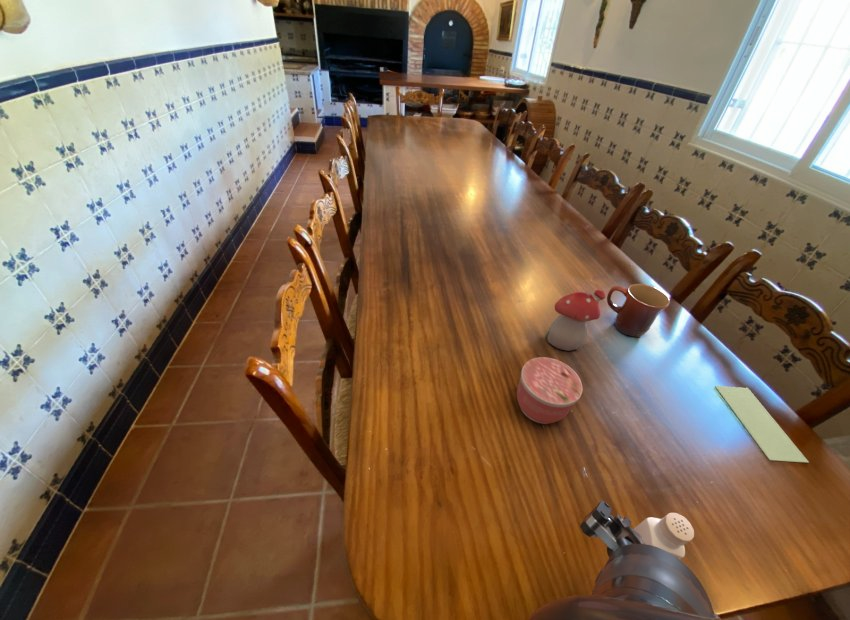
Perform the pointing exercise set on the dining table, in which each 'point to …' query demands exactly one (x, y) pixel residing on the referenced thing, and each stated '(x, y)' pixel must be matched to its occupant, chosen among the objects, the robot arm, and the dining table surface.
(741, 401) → the edge strip
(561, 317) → the decorative ornament
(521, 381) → the container
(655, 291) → the mug
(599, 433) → the dining table surface
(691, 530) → the salt shaker
